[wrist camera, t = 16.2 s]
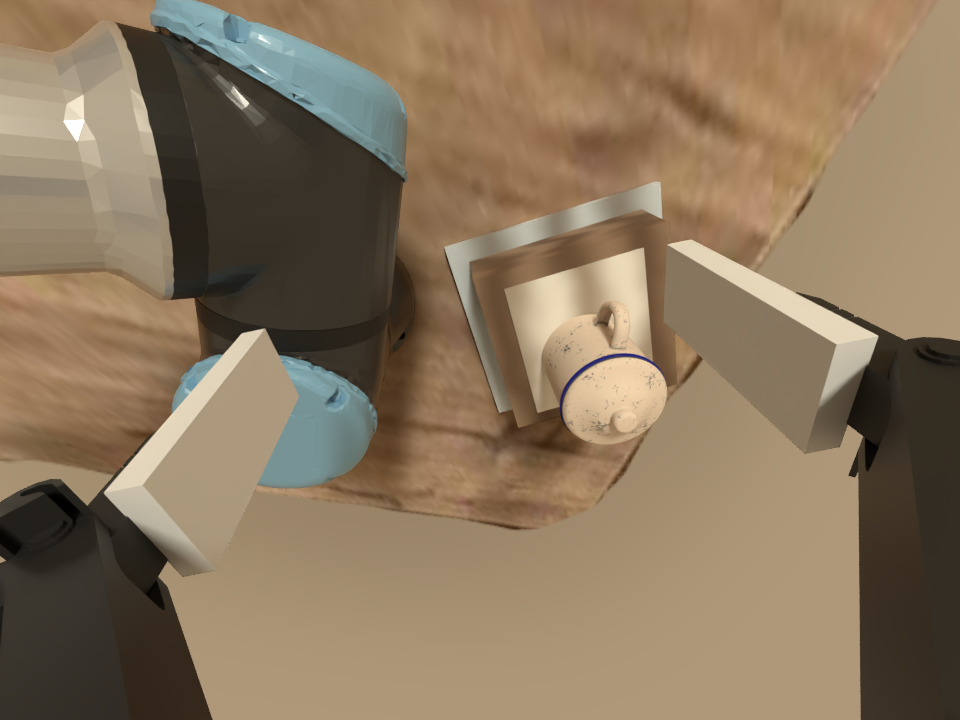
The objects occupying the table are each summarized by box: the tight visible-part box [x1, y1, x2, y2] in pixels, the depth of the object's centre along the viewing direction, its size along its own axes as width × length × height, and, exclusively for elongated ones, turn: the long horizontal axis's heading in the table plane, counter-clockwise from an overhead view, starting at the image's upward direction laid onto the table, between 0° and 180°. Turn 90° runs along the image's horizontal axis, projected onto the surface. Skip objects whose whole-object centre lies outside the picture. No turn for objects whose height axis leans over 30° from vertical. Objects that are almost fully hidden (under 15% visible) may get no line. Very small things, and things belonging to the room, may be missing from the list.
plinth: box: [445, 181, 677, 428], centre depth 45 cm, size 22×22×7 cm
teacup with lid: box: [543, 301, 667, 445], centre depth 37 cm, size 12×9×12 cm
